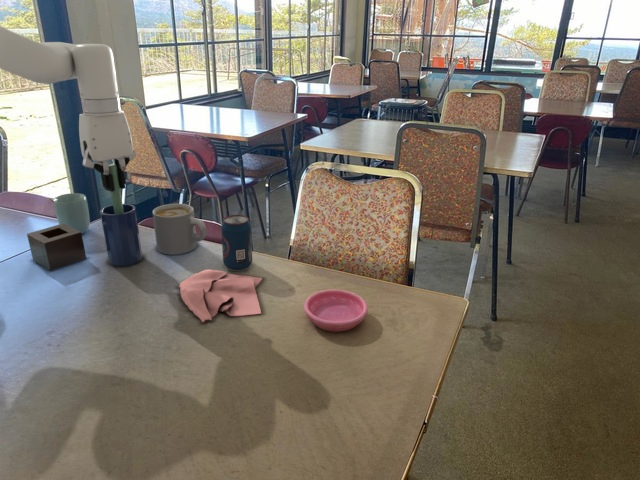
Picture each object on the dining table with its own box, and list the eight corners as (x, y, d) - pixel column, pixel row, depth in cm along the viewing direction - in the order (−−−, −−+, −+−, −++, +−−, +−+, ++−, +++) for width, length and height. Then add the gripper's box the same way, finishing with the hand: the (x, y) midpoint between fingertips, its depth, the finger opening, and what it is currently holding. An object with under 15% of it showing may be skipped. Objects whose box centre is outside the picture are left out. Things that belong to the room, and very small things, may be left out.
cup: (80, 239, 127) (74, 203, 123) (54, 236, 128) (46, 201, 124) (97, 228, 134) (91, 194, 130) (72, 226, 135) (65, 192, 131)
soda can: (220, 261, 117) (218, 215, 112) (248, 257, 119) (247, 212, 114) (226, 274, 111) (223, 226, 106) (255, 269, 113) (254, 222, 109)
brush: (115, 246, 115) (101, 165, 107) (126, 242, 117) (113, 162, 109) (122, 249, 114) (108, 167, 106) (133, 245, 116) (121, 164, 108)
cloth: (203, 267, 114) (202, 257, 113) (287, 284, 107) (287, 274, 106) (147, 309, 96) (145, 299, 95) (244, 333, 90) (243, 322, 89)
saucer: (347, 344, 87) (347, 330, 86) (291, 322, 93) (291, 309, 92) (377, 314, 97) (378, 300, 95) (325, 296, 103) (326, 283, 102)
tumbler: (102, 260, 116) (93, 209, 111) (130, 250, 122) (123, 201, 117) (120, 269, 112) (111, 217, 107) (148, 258, 118) (141, 208, 112)
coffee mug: (148, 249, 122) (143, 212, 118) (175, 235, 131) (171, 201, 127) (189, 260, 117) (185, 222, 113) (215, 246, 125) (212, 210, 121)
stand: (33, 260, 115) (26, 233, 113) (68, 248, 122) (63, 223, 119) (50, 271, 111) (44, 243, 108) (86, 258, 117) (81, 231, 114)
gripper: (125, 100, 110) (136, 178, 118) (55, 108, 99) (72, 194, 106) (144, 104, 106) (154, 184, 114) (74, 112, 94) (90, 201, 102)
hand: (115, 188), depth 110 cm, fingers closed on brush, 2 cm apart
